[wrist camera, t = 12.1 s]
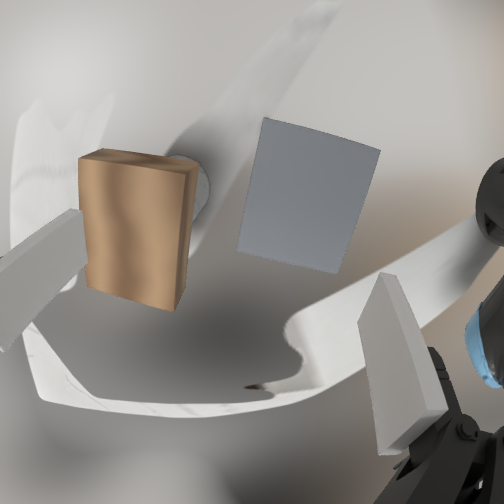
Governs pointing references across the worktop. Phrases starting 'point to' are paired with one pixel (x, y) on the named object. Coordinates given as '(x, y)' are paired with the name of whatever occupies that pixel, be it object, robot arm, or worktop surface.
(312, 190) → the mat
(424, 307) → the worktop surface
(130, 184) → the board
